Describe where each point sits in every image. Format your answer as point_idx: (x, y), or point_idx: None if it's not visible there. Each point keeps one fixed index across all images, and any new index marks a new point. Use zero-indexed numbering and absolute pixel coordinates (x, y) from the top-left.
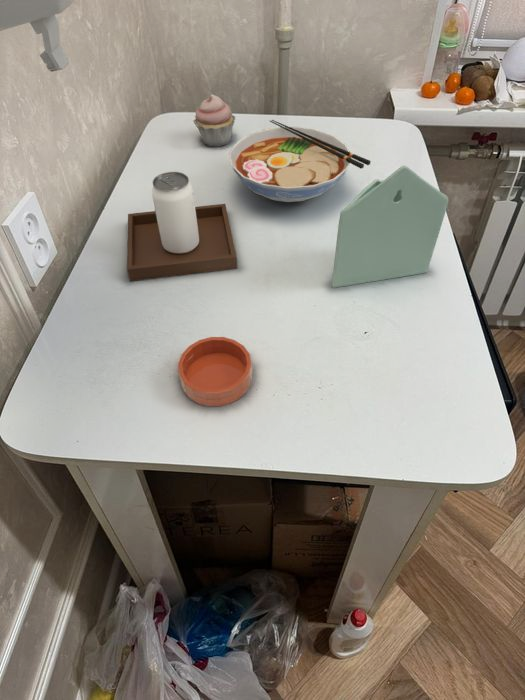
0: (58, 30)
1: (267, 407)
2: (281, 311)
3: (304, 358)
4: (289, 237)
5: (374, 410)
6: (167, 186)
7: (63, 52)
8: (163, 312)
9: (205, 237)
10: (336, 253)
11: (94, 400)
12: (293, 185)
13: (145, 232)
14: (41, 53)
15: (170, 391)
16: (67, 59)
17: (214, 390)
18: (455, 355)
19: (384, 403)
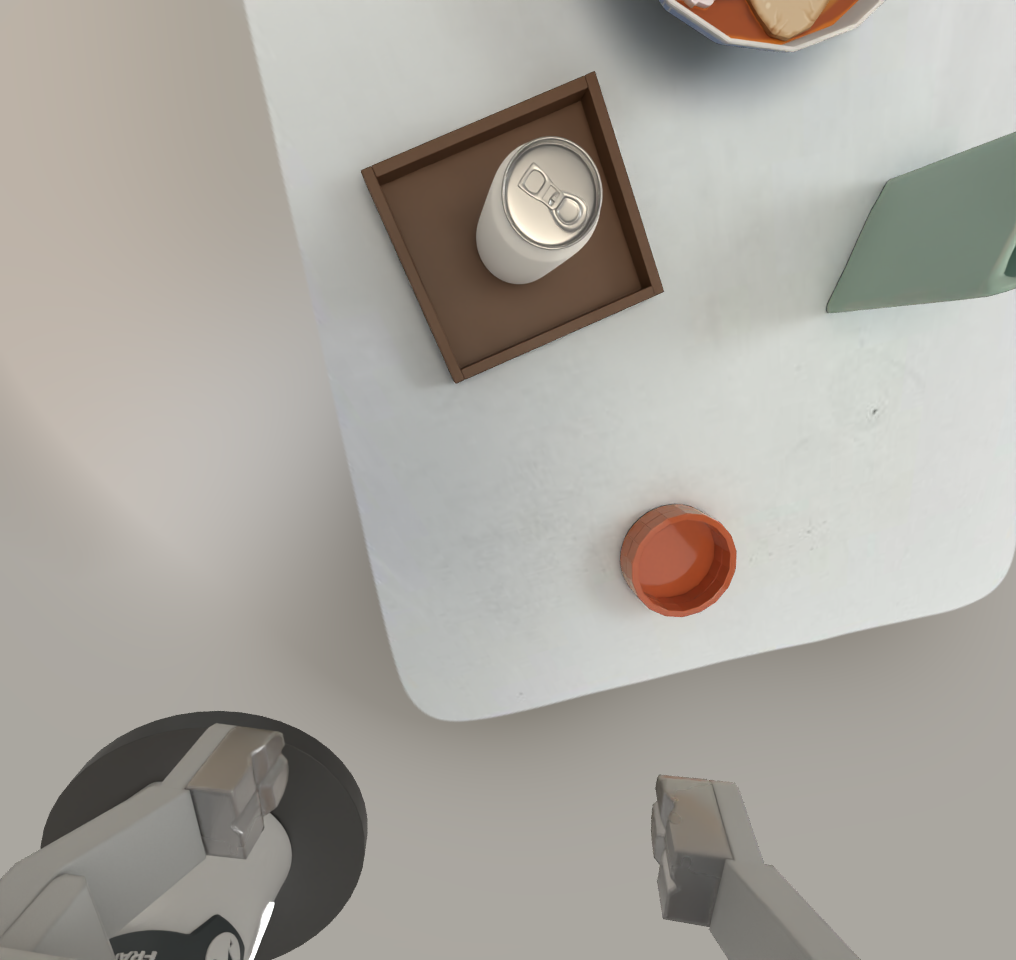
0: (838, 942)
1: (744, 580)
2: (745, 395)
3: (787, 486)
4: (741, 159)
5: (875, 547)
6: (548, 218)
7: (747, 821)
8: (548, 447)
9: None
10: (895, 306)
11: (513, 636)
12: (796, 10)
13: (419, 212)
14: (666, 906)
15: (612, 593)
16: (737, 788)
17: (694, 610)
18: (990, 425)
19: (888, 533)
